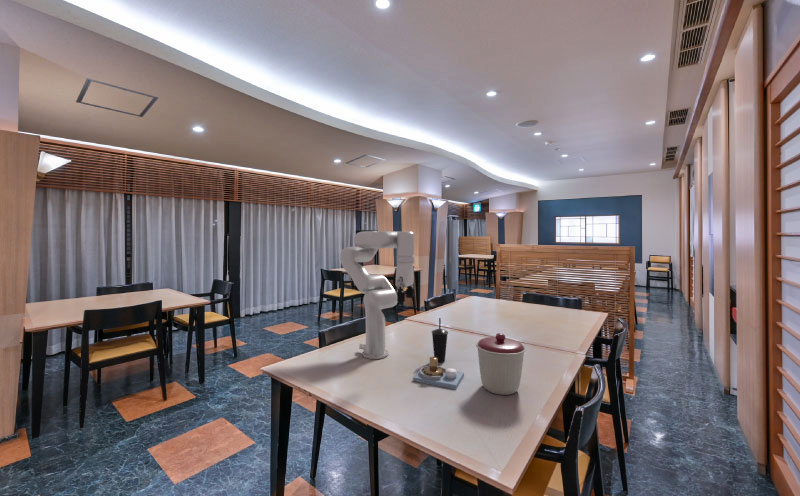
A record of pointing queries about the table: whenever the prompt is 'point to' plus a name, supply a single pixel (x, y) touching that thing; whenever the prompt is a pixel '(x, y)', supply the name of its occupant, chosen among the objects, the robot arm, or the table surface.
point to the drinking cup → (439, 343)
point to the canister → (500, 363)
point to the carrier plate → (440, 378)
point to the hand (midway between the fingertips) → (405, 299)
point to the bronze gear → (433, 368)
